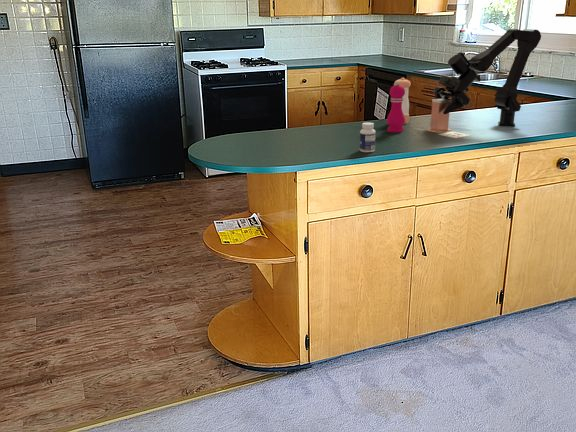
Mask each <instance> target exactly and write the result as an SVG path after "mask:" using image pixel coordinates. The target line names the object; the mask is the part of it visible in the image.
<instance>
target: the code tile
mask: <svg viewBox="0 0 576 432" xmlns="http://www.w3.org/2000/svg"><path fill="white" fill-rule="evenodd" d="M437 135H438V136H439V135H440V136H443V137H448V138H452V139H453V138H454V139H458V138H462V137H468V136H469V134H468V133H464V132H458V131H453V130H452V131H451V132H444V133H437Z"/></svg>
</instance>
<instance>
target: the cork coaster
mask: <svg viewBox="0 0 576 432" xmlns="http://www.w3.org/2000/svg"><path fill="white" fill-rule="evenodd" d="M426 131H428V132H431V133H438V134H442V133H447V132H452V131H453V130H452V129H451V128H449V127H448V130H447V131H435V130H432V129H430V127H428V128H426Z"/></svg>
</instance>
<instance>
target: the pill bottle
mask: <svg viewBox="0 0 576 432" xmlns="http://www.w3.org/2000/svg"><path fill="white" fill-rule="evenodd" d="M374 126H375V123H374V122H367V121H366V122H362V124H361V127H362V129H361V130H360V131H359V151H360V152H362V153H373V152H375V151H376V130H375V129H374Z"/></svg>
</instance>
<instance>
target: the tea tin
mask: <svg viewBox="0 0 576 432" xmlns="http://www.w3.org/2000/svg"><path fill="white" fill-rule="evenodd" d="M450 102H451V99H444V98H443V99H435V98H432V99H431V106H432V111H431V117H430V127H429V128H430V129H432V130H435V131H447V130H448V128H449V120H450V112H449V113H447V114H444V113H443V112H444V110H445V109H446V107H447V106H448V105H449V103H450Z"/></svg>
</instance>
